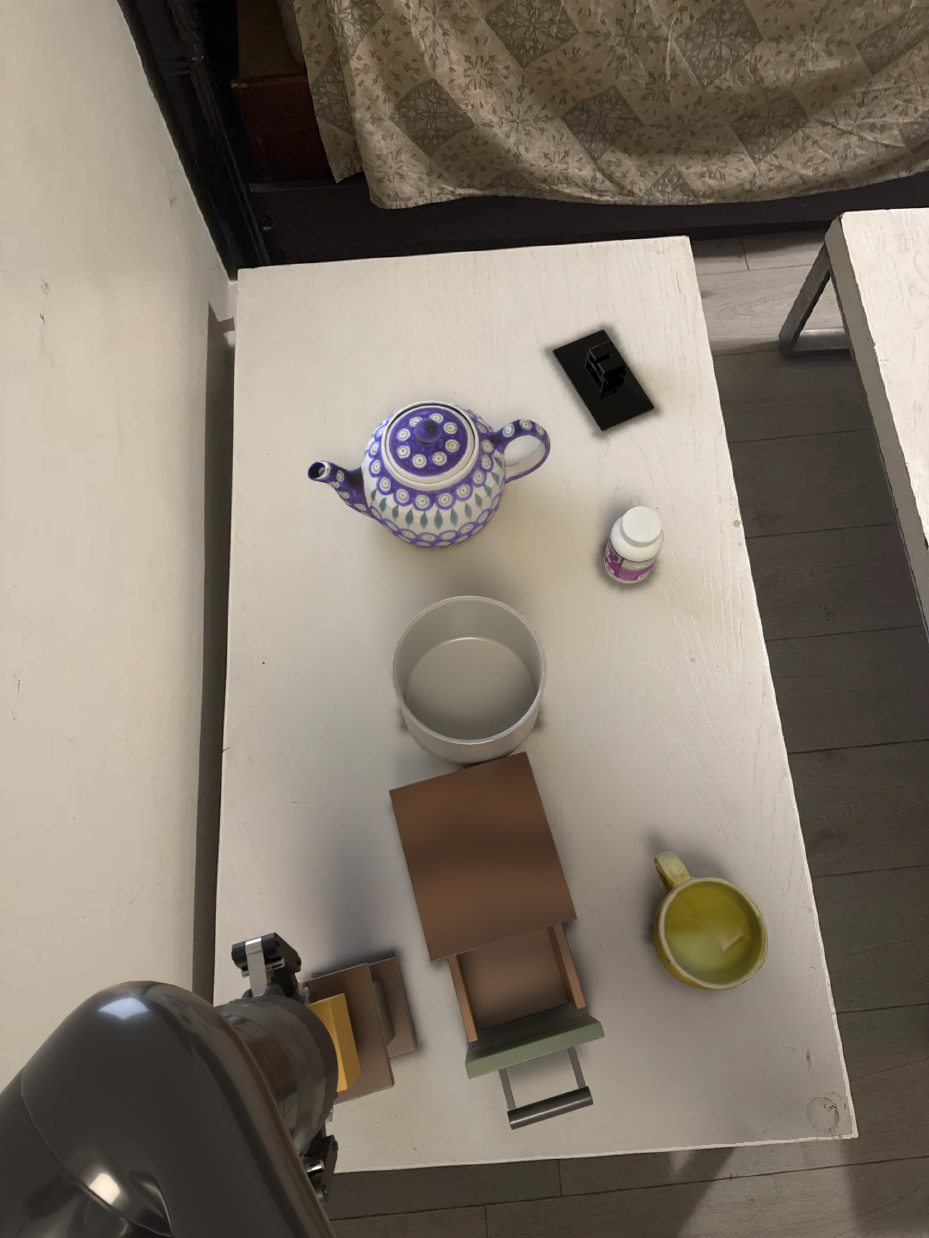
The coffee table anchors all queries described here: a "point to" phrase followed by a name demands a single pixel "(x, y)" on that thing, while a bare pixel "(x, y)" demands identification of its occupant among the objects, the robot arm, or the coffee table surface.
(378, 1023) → the stand
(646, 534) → the pill bottle
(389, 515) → the teapot
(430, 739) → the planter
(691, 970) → the mug
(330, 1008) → the block
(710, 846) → the coffee table surface
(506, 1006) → the drawer
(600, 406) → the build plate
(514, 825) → the cabinet
